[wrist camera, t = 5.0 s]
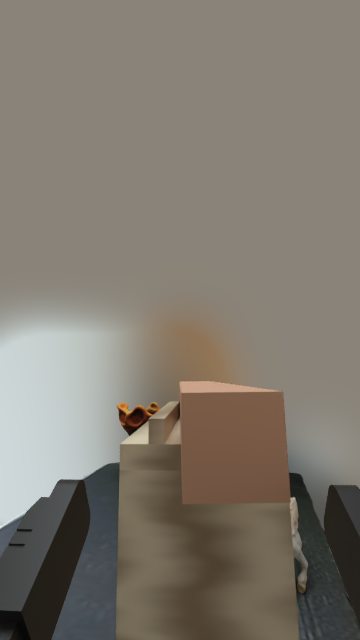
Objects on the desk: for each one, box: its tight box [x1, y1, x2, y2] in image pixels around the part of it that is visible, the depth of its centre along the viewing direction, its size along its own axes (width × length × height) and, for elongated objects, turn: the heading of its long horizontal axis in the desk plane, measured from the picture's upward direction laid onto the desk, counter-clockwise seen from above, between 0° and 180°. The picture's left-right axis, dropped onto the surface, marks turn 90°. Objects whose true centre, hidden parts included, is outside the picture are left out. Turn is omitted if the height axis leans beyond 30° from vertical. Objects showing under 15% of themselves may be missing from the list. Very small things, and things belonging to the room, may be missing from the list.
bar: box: [180, 381, 291, 504], centre depth 22 cm, size 4×24×4 cm, turn 0°
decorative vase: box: [117, 402, 161, 436], centre depth 110 cm, size 21×23×28 cm
